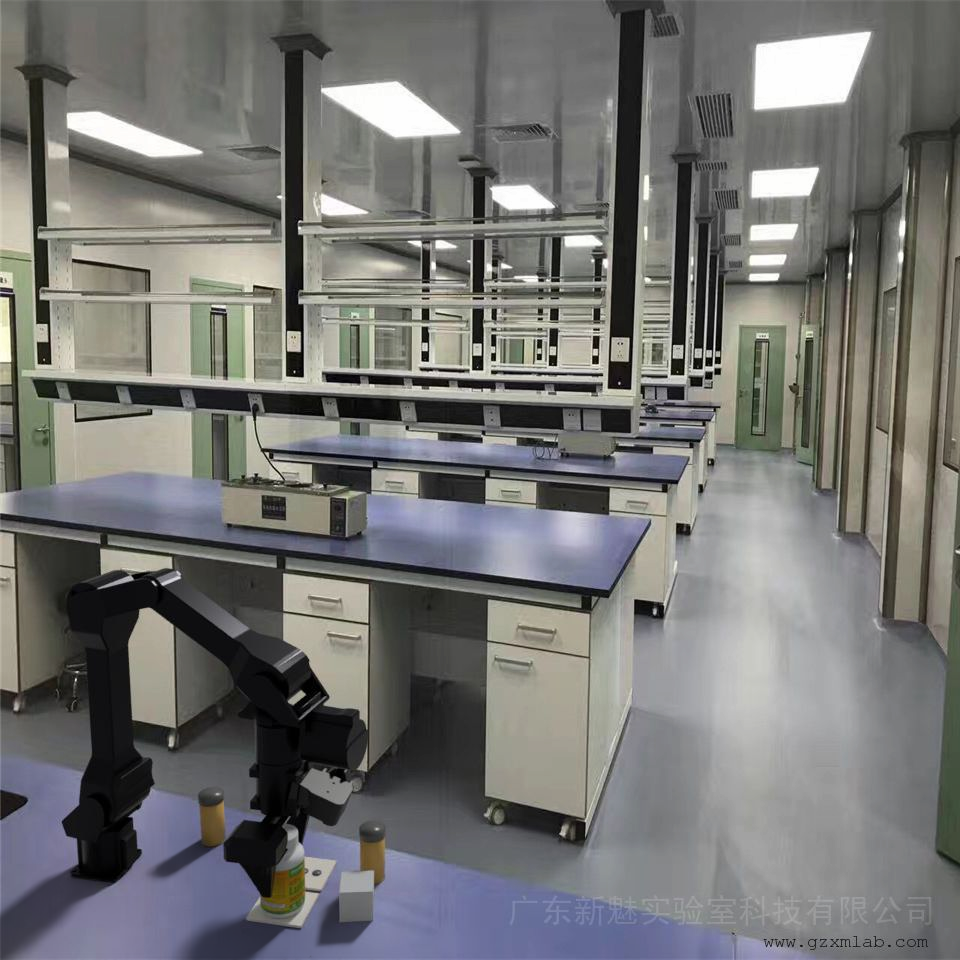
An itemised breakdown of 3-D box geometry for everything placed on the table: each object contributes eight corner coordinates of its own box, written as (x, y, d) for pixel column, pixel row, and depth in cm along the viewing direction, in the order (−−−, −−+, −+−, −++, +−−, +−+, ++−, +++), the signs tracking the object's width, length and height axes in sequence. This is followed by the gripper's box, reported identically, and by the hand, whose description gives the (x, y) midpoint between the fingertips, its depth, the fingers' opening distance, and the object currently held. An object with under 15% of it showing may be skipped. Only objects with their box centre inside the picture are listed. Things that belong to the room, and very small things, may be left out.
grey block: (339, 922, 101) (339, 892, 100) (341, 900, 104) (341, 871, 104) (372, 921, 101) (372, 891, 100) (374, 899, 105) (374, 870, 104)
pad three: (269, 884, 107) (269, 881, 107) (287, 856, 113) (287, 853, 113) (321, 891, 106) (321, 888, 106) (337, 862, 112) (337, 860, 112)
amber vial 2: (355, 883, 108) (355, 833, 106) (363, 867, 111) (363, 819, 110) (381, 886, 107) (381, 837, 106) (388, 870, 110) (388, 822, 109)
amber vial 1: (196, 846, 115) (193, 799, 114) (207, 831, 118) (204, 786, 117) (220, 847, 114) (217, 800, 113) (230, 833, 118) (227, 787, 117)
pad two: (246, 920, 100) (246, 917, 100) (266, 888, 106) (266, 885, 106) (301, 928, 99) (301, 925, 99) (319, 895, 105) (319, 892, 105)
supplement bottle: (294, 923, 100) (292, 849, 98) (252, 916, 101) (250, 842, 99) (312, 894, 105) (311, 823, 103) (272, 887, 106) (270, 817, 104)
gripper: (316, 803, 89) (318, 934, 92) (368, 725, 107) (368, 836, 110) (219, 792, 91) (223, 920, 93) (286, 717, 109) (288, 826, 112)
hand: (282, 872), depth 102 cm, fingers open, 9 cm apart
